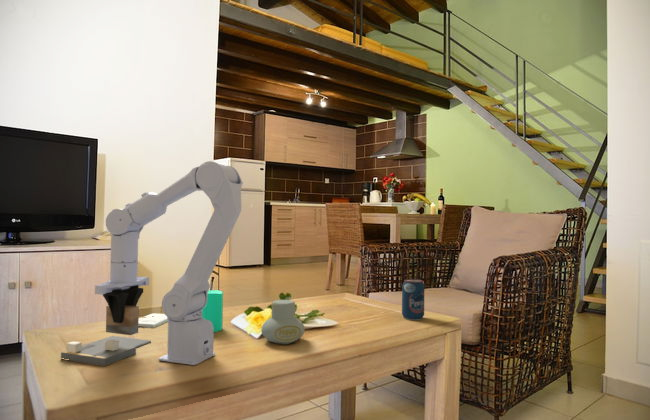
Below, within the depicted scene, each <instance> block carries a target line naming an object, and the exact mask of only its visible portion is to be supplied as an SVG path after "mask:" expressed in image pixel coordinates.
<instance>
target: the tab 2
mask: <svg viewBox="0 0 650 420" xmlns="http://www.w3.org/2000/svg"><path fill="white" fill-rule="evenodd" d="M117 349H119V341H118V340H108V341H105V350H111V351H114V350H117Z"/></svg>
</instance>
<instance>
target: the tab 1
mask: <svg viewBox="0 0 650 420" xmlns="http://www.w3.org/2000/svg"><path fill="white" fill-rule="evenodd" d="M81 346H83V345H82V342H80V341H76V340H75V341H70V342H67V343H66V351H67V352H73V353H76V352H79V351H81Z"/></svg>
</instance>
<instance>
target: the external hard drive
mask: <svg viewBox="0 0 650 420" xmlns="http://www.w3.org/2000/svg"><path fill="white" fill-rule="evenodd" d="M152 316H154V317H152ZM144 317H146V318H142V317H139V318H138V328H149V329H151V328H152V329H154V328H157V327H159V326H161V325H164V324H165V323H168V320H167V316H166V315H165V314H164V313H153V312H152V313H150V314H147V315H144Z"/></svg>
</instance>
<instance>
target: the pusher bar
mask: <svg viewBox="0 0 650 420" xmlns="http://www.w3.org/2000/svg"><path fill="white" fill-rule="evenodd" d="M139 307H140V306H138V305H136V306H129V305H125V308H124V318H123V322H122V323H115V322H113V318H112V314H111V311H110V308H109V305H106V308H105V309H106V310H105V311H106V312H105V319H106V320H105V333H107V334H110V333H111V334H119V335H125V336H132V335H136V334H138V333H139V327H138V319H140V317H139V316H140V315H139V312H140V311H139V310H140V309H139Z"/></svg>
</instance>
